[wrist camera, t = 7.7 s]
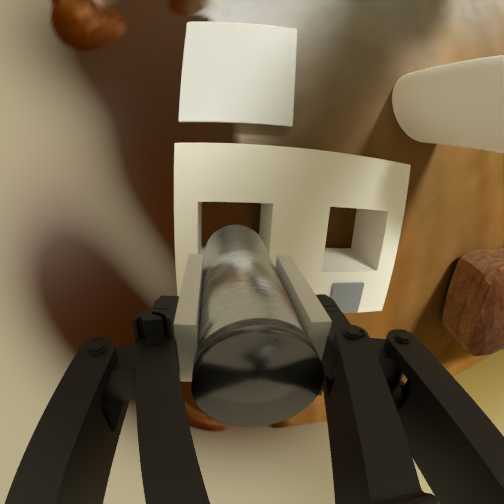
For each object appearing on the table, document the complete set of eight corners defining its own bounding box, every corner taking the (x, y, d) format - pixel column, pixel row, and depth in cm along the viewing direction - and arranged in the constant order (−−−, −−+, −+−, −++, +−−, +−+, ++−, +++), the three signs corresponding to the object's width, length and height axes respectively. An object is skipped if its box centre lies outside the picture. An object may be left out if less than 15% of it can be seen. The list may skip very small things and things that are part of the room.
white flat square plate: (188, 25, 20) (187, 22, 19) (294, 32, 21) (296, 29, 20) (179, 122, 24) (178, 121, 23) (289, 126, 25) (292, 126, 24)
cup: (392, 137, 26) (515, 151, 11) (389, 65, 23) (503, 36, 8) (445, 146, 27) (555, 168, 12) (443, 82, 24) (550, 75, 9)
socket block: (184, 143, 24) (174, 142, 19) (377, 159, 27) (412, 165, 21) (185, 284, 29) (178, 318, 24) (357, 283, 32) (383, 312, 26)
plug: (203, 222, 19) (186, 338, 7) (268, 223, 19) (337, 333, 8) (203, 281, 20) (196, 427, 9) (263, 281, 20) (311, 420, 9)
